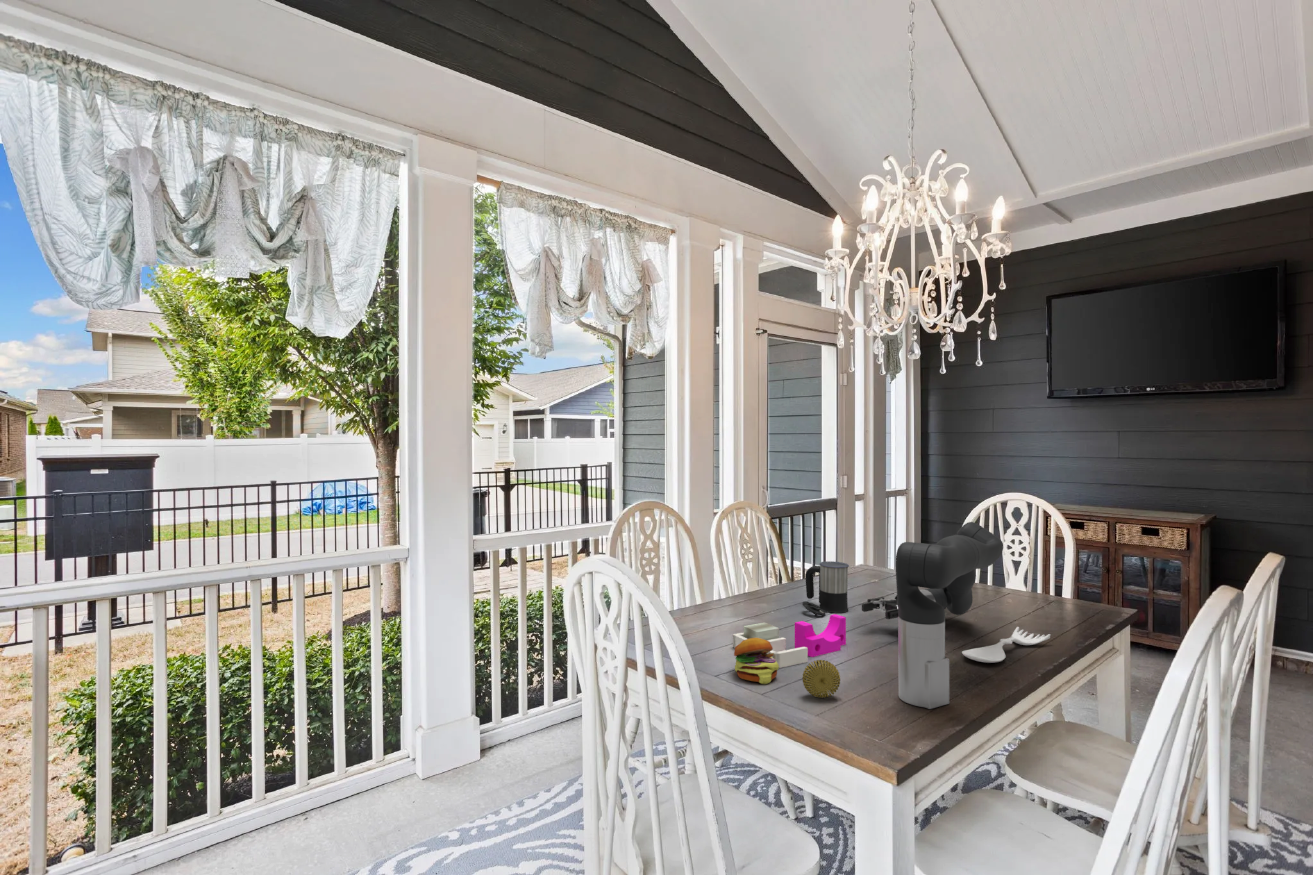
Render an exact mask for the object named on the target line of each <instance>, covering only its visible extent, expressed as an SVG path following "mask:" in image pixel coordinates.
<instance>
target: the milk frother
mask: <svg viewBox="0 0 1313 875" xmlns="http://www.w3.org/2000/svg"><path fill="white" fill-rule="evenodd" d="M818 564H819V565H813V566H810V567H809V568H808V569H807V570H806V572H805V576H804V577H805V589H806V590H805V591H806V598H807V599H809V600H811V599H813V598H814V597H815V585H814V584H815V582H814V574H815V573H818V603H819V605H817V604H814V603H813V602H810V601H803V602H802V603H801V604H802V606H803V608H805V610H807V612H808V611H809V612H810V613H811V614H813V615H814V616H815V617H816V616H825V615H826V613H833V614H834V613H835V614H841V613H847V612H848V611H849V608H848V606H849V605H848V604H849V603H848V582H849V581H848V577H849V575H848V574H849V572H848V570H849V567H850V565H849V563H846V562H840V561H833V560H832V561H831V560H830V561H821V562H819V563H818Z"/></svg>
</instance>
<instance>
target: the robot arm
mask: <svg viewBox="0 0 1313 875" xmlns="http://www.w3.org/2000/svg"><path fill="white" fill-rule="evenodd" d="M1003 551H1004V542H1003V541H1002V540H1001V538H999V536H997V535H996V534H994V533H992V532H990V530H988V529H986V528H984V527H983V526H981V525H980V524H978V523H976V522H975V521H969V522H966V523H964V524H963V525H962V526H961V527H960V528H959V530H957V532H956V534H952V535H950V536H945V537H944V538H941V539H940V540H938V541H937V542H936V543H935V544H931V543H922V542H913V541H912V542H911V541H904V542H902V543H900V545H899V546H898V548H897V550H896V555H895V582H896V583H895V584H896V596H894V598H889V599H888V598H887V599H885V597H883V596H879V597H873V598H867V602H863V603H861V611H862V612H864V613H865V612H872V611H879V612H880V613H885V615H884V618H885V619H886V620H892V619H897V621H898V626H897V627H898V629H897V630H898V633H897V635H898V640H897V641H898V642H897V643H898V644H897V646H898V648H897V649H898V650H897V651H898V653H897V654H898V656H897V657H898V658H897V660H898V663H897V664H898V668H897V670H898V671H897V672H898V698H899V699H900V700H901V701H903V702H904V703H907V704H909V705H911V706H916V707H921V708H926V709H928V710H932V709H935V708H938V707H942V706H945V705H949V704H950V659H949V658H948V657H946V611H945V610H946V609H947V610H948V611H949V612H950V613H951V614H953V615H956V616H961V615H964V614H966V613H967V612H968V611H969V610H970V609H971V607H972V604H973V599H974V598H973V586H974V584H975V582H976V579H977V578H976V577H977V575H976V570H981V569H985V568H988V567H990V566H992V565H993V564H994V563H996V562H997V561H998V560H999V559H1000V557H1001V555H1002V553H1003ZM919 587H920V588H924V589H920V588H919Z"/></svg>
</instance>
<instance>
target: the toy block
mask: <svg viewBox="0 0 1313 875" xmlns="http://www.w3.org/2000/svg"><path fill="white" fill-rule="evenodd" d="M846 644H847V618H846V617H845V616H842V615H839V614H838V613H835V614H834V613H833V614H830V615H829V619H828V622H827V625H826V627H825V628H824V630H823V631H822V632H820V633H818V634H816V632H815V630H814V626H813V624H812V623H809V622H806V621H804V620H801V621H796V622H795V621H794V649H795V648H800V647H807V648H808V657H811V658H814V657H818V656H823V655H827V654H831V653H834V652H838V651H841V650H842V647H841V646H846Z"/></svg>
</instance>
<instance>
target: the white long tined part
mask: <svg viewBox="0 0 1313 875" xmlns="http://www.w3.org/2000/svg"><path fill="white" fill-rule="evenodd" d="M1023 632H1024V629H1020V627H1019V626H1016V628H1015V629H1014V630H1013V632H1012V634H1011V636H1010V637H1008V638H1000V639H999V642H997V643H995V644H992V645H986V646H982V647H975V648H971V649H965V650H963V651H961V653H962V655H963V656H965V658H968V659H970V660H972V661H976V662H981V663H985V664H986V663H987V664H991V663H995V664H996V663H999V662H1003V660H1005V658H1006V657H1007V656H1006V653H1005V651H1004V648H1003V646H1004V645H1012V644H1013V642H1014V643H1015V644H1017V645H1021V646H1022V645H1023V646H1032V645H1037V644H1040V643H1041V642H1044V641H1047V640H1049V639H1050V638H1051V634H1050V633H1049V634H1046V635H1045V634H1042V635H1040V633H1039V634H1037V635H1036V636H1035V637H1034V633H1030V634H1029V635H1027V634H1028V631H1025V632H1024V633H1023Z"/></svg>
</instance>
